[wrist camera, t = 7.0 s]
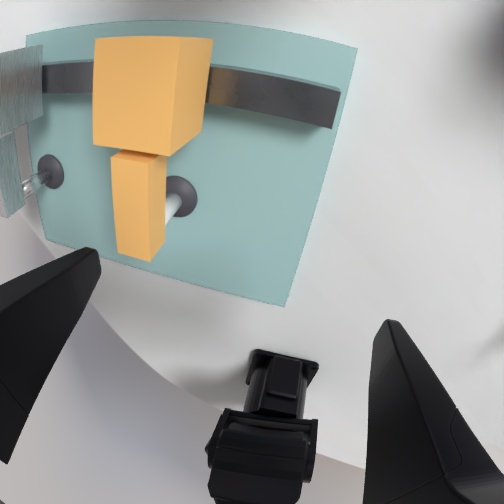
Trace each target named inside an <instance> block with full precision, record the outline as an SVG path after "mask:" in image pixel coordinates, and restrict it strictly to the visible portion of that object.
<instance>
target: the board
mask: <svg viewBox="0 0 504 504" xmlns="http://www.w3.org/2000/svg"><path fill="white" fill-rule="evenodd" d="M126 36H178V37H196V38H209V39H214V40H213V47H212V53H211V60H210V63H213V64H221V65H229V66H236V67H243V68H249V69H256V70H261V71H267V72H272V73H278V74H283V75H288V76H292V77H297V78H301V79H306V80H310V81H314V82H318V83H322V84H326V85H330V86H334V87H338V88H339V89H340V91H341V95H340V99H339V103H338V107H337V111H336V115H335V119H334V123H333V127H332V129H328V128H325V127H321V126H317V125H313V124H309V123H305V122H301V121H297V120H292V119H288V118H283V117H279V116H274V115H269V114H265V113H260V112H254V111H249V110H244V109H238V108H232V107H226V106H220V105H214V104H207V103H205V106H204V114H203V123H202V132H200V133H199V134H198V135H196V136H195V137H194V138H193V139H191V140H190V141H189V142H187V143H186V144H185V145H184V146H182V147H181V148H180V149H179V150H177V151H176V152H175V153H174V154H172V155H171V156H167V171H166V195H167V194H168V193H176V194H177V195H179V196H180V198H181V200H182V205H181V207H180V208H179V209H178V210H177V212H176V213H175V214H174V215H173V217H172V218H171V219H170V221H169V222H168V223H167V224H166V226H165V242H164V243H163V245H162V246H161V247H160V249H159V250H158V252H157V253H156V255H155V256H154V257H153V259H152V260H151V262H148V261H145V260H141V259H138V258H134V257H131V256H127V255H124V254H120V253H118V250H117V241H116V231H115V220H114V209H113V195H112V177H111V157H112V156H113V155H115V154H116V153H118V152H120V151H121V150H123V149H120V148H113V147H106V146H99V145H93V93H44V94H42V106H43V116H41V117H39V118H36V119H34V120H32V121H30V122H27V127H28V138H29V147H30V156H31V163H32V171H33V175H34V174H35V173H37V172H38V171H40V170H41V169H43V168H46V169H48V170H49V172H50V174H51V180H50V181H49V182H47V183H46V184H44V185H43V186H42V187H40V188H39V189H38V190H36V195H37V200H38V206H39V211H40V215H41V220H42V225H43V229H44V233H45V238H46V239H47V240H50V241H53V242H56V243H59V244H62V245H65V246H68V247H71V248H74V249H77V250H79V249H81V248H84V247H90V248H94V249H96V250H97V251H98V254H99V256H100V257H103V258H106V259H109V260H113V261H116V262H119V263H123V264H126V265H129V266H133V267H136V268H139V269H143V270H146V271H150V272H153V273H157V274H160V275H164V276H167V277H171V278H174V279H178V280H181V281H185V282H188V283H192V284H196V285H199V286H203V287H207V288H211V289H214V290H218V291H222V292H226V293H229V294H233V295H237V296H241V297H245V298H249V299H253V300H257V301H261V302H265V303H269V304H273V305H277V306H281V307H285V304H286V301H287V298H288V295H289V291H290V288H291V285H292V282H293V279H294V276H295V273H296V270H297V267H298V264H299V261H300V257H301V254H302V251H303V248H304V245H305V241H306V238H307V235H308V232H309V228H310V225H311V222H312V218H313V215H314V212H315V208H316V205H317V202H318V198H319V195H320V191H321V188H322V184H323V181H324V177H325V174H326V170H327V167H328V163H329V160H330V156H331V152H332V149H333V145H334V141H335V138H336V134H337V130H338V126H339V123H340V119H341V115H342V111H343V107H344V103H345V99H346V95H347V91H348V87H349V83H350V79H351V75H352V71H353V67H354V63H355V58H356V54H357V50H358V48H354V47H351V46H347V45H344V44H340V43H336V42H332V41H328V40H324V39H320V38H316V37H311V36H306V35H302V34H297V33H292V32H286V31H281V30H275V29H269V28H262V27H255V26H247V25H239V24H229V23H218V22H204V21H180V20H147V21H124V22H110V23H99V24H90V25H82V26H75V27H68V28H62V29H56V30H50V31H45V32H40V33H35V34H30V35H26V47H31V46H37V45H42V44H43V53H42V63H46V62H56V61H68V60H83V59H94V51H95V39H97V38H109V37H126Z"/></svg>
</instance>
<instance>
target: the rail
mask: <svg viewBox="0 0 504 504" xmlns="http://www.w3.org/2000/svg"><path fill="white" fill-rule="evenodd" d="M93 68H94V59H83V60H68V61H56V62H46V63H42V94H44V93H93ZM340 95H341V91H340V89H339V88H338V87H334V86H330V85H326V84H322V83H318V82H314V81H310V80H306V79H301V78H297V77H292V76H288V75H283V74H278V73H272V72H267V71H261V70H256V69H249V68H243V67H236V66H229V65H221V64H213V63H210V67H209V75H208V82H207V90H206V98H205V103H207V104H214V105H220V106H226V107H232V108H238V109H244V110H249V111H254V112H260V113H265V114H269V115H274V116H279V117H283V118H288V119H292V120H297V121H301V122H305V123H309V124H313V125H317V126H321V127H325V128H328V129H332V127H333V123H334V119H335V115H336V111H337V107H338V103H339V99H340Z"/></svg>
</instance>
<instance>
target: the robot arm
mask: <svg viewBox="0 0 504 504" xmlns="http://www.w3.org/2000/svg"><path fill="white" fill-rule="evenodd" d="M100 275H101V265H100V259H99V254H98V251H97V250H96V249H94V248H90V247H84V248H81V249H79V250H77V251H74V252H72V253H70V254H67V255H65V256H63V257H60V258H58V259H56V260H54V261H51V262H49V263H47V264H45V265H43V266H40V267H38V268H36V269H34V270H31V271H29V272H27V273H25V274H23V275H21V276H18V277H17V278H14V279H12V280H10V281H8V282H6V283H4V284H2V285H0V460H1V461H2V462H4V463H5V464H8V462H9V460H10V458H11V455H12V452H13V450H14V448H15V445H16V443H17V441H18V438H19V436H20V434H21V431H22V429H23V427H24V425H25V422H26V420H27V418H28V416H29V413H30V411H31V409H32V407H33V405H34V403H35V400H36V399H37V396H38V394H39V392H40V390H41V388H42V386H43V384H44V382H45V380H46V378H47V376H48V374H49V373H50V371H51V369H52V367H53V365H54V363H55V361H56V359H57V357H58V356H59V354H60V352H61V350H62V348H63V346H64V344H65V343H66V341H67V339H68V337H69V336H70V334H71V332H72V330H73V329H74V327H75V325H76V324H77V322H78V320H79V318H80V317H81V315H82V313H83V311H84V309H85V307H86V305H87V303H88V300H89V298H90V296H91V294H92V292H93V290H94V288H95V286H96V284H97V282H98V280H99V278H100ZM318 369H319V364H318V363H316V362H311V361H306V360H302V359H297V358H292V357H288V356H284V355H279V354H275V353H271V352H267V351H262V350H255V352H254V355H253V358H252V362H251V365H250V368H249V372H248V375H247V378H246V384H247V385H249V389H248V394H247V398H246V402H245V406H244V410H243V412H241V411H235V410H231V409H229V408H225V410H224V412H223V414H222V415H221V416H220V419H219V421H218V423H217V425H216V428H215V430H214V432H213V435H212V437H211V439H210V440H209V442H208V443H207V445H206V447H205V452H206V453H207V455H208V467H209V468H211V474H210V479H209V482H208V489H209V493H210V496H211V497H212V498H214V500H215V503H216V504H295V503H296V502H297V501H298V499H299V498H300V494H301V488H302V483H303V482H305V483H310V481H311V477H312V474H313V468H314V462H315V454H316V442H317V428H318V419H312V420H308V419H303V413H304V405H305V397H306V389H307V387H308V386H309V384H310V382H311V381H312V379H313V377H314V376H315V374H316V373H317V371H318ZM0 504H5V503H4V502H2V501H1V500H0ZM363 504H504V474H503V473H501V471H500V470H499V469H498V468H497V466H496V465H495V463H494V462H493V460H492V459H491V458H490V456H489V455H488V453H487V452H486V450H485V449H484V448H483V446H482V445H481V443H480V442H479V441H478V439H477V438H476V436H475V435H474V433H473V432H472V430H471V429H470V427H469V426H468V424H467V423H466V421H465V420H464V418H463V416H462V415H461V413H460V412H459V410H458V408H456V405H455V404H454V402H453V400H452V399H451V397H450V396H449V394H448V393H447V391H446V390H445V388H444V386H443V385H442V383H441V382H440V380H439V379H438V377H437V376H436V374H435V373H434V371H433V370H432V368H431V367H430V365H429V364H428V362H427V361H426V359H425V358H424V356H423V355H422V353H421V352H420V351H419V349H418V348H417V346H416V345H415V343H414V342H413V340H412V339H411V338H410V336H409V335H408V333H407V332H406V330H405V329H404V328H403V326H402V325H401V323H400V322H399V321H396V320H390V319H386V320H385V321H384V322H383V324H382V326H381V327H380V329H379V331H378V333H377V334H376V336H375V338H374V341H373V350H372V361H371V371H370V380H369V398H368V438H367V457H366V472H365V484H364V495H363Z"/></svg>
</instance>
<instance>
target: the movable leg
mask: <svg viewBox="0 0 504 504" xmlns="http://www.w3.org/2000/svg"><path fill="white" fill-rule="evenodd" d="M213 40H214V39H209V38H196V37H178V36H126V37H109V38H97V39H95V51H94V68H93V145H99V146H106V147H113V148H120V149H123V150H121V151H120V152H118V153H116V154H115V155H113V156H112V157H111V177H112V195H113V209H114V220H115V231H116V241H117V250H118V253H120V254H124V255H127V256H131V257H134V258H138V259H141V260H145V261H148V262H151V260H152V259H153V257H154V256H155V255H156V253H157V252H158V250H159V249H160V247H161V246H162V245H163V243H164V242H165V226H166V224H167V223H168V222H169V221H170V219H171V218H172V217H173V215H174V214H175V213H176V212H177V210H178V209H179V208H180V207H181V205H182V200H181V198H180V196H179V195H177V194H176V193H168V194H167V195H166V171H167V156H171V155H172V154H174V153H175V152H176V151H177V150H179V149H180V148H181V147H182V146H184V145H185V144H186V143H187V142H189V141H190V140H191V139H193V138H194V137H195V136H196V135H198V134H199V133H200V132H202V123H203V114H204V106H205V98H206V90H207V82H208V75H209V67H210V60H211V53H212V47H213Z"/></svg>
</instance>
